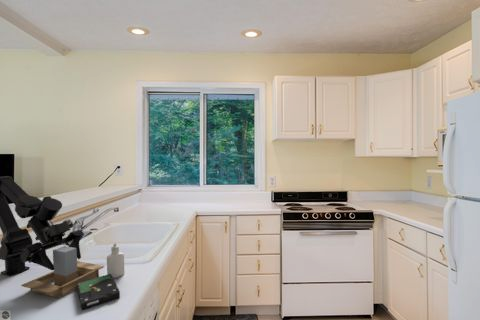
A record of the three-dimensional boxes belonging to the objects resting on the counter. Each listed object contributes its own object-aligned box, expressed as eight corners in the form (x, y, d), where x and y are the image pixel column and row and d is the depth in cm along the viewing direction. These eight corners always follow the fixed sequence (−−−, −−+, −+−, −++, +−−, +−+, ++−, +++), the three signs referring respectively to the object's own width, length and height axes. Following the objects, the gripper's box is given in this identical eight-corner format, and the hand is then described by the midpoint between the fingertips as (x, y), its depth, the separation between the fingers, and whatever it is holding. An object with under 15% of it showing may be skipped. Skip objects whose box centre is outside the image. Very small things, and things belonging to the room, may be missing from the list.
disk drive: (120, 300, 79) (110, 280, 91) (120, 291, 79) (110, 272, 91) (81, 313, 73) (76, 290, 85) (81, 303, 73) (76, 282, 85)
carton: (21, 294, 82) (21, 285, 82) (77, 268, 100) (77, 260, 100) (51, 302, 77) (50, 292, 77) (104, 274, 95) (104, 266, 95)
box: (54, 284, 88) (52, 250, 88) (65, 279, 92) (64, 246, 91) (66, 287, 86) (65, 252, 85) (77, 282, 90) (76, 248, 89)
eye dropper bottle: (111, 273, 96) (109, 241, 96) (126, 272, 96) (125, 240, 96) (105, 278, 92) (104, 245, 91) (121, 278, 92) (120, 245, 91)
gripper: (24, 221, 81) (49, 260, 77) (79, 208, 98) (102, 239, 95) (9, 243, 84) (33, 282, 80) (66, 227, 101) (87, 258, 98)
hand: (67, 263), depth 88 cm, fingers open, 9 cm apart
